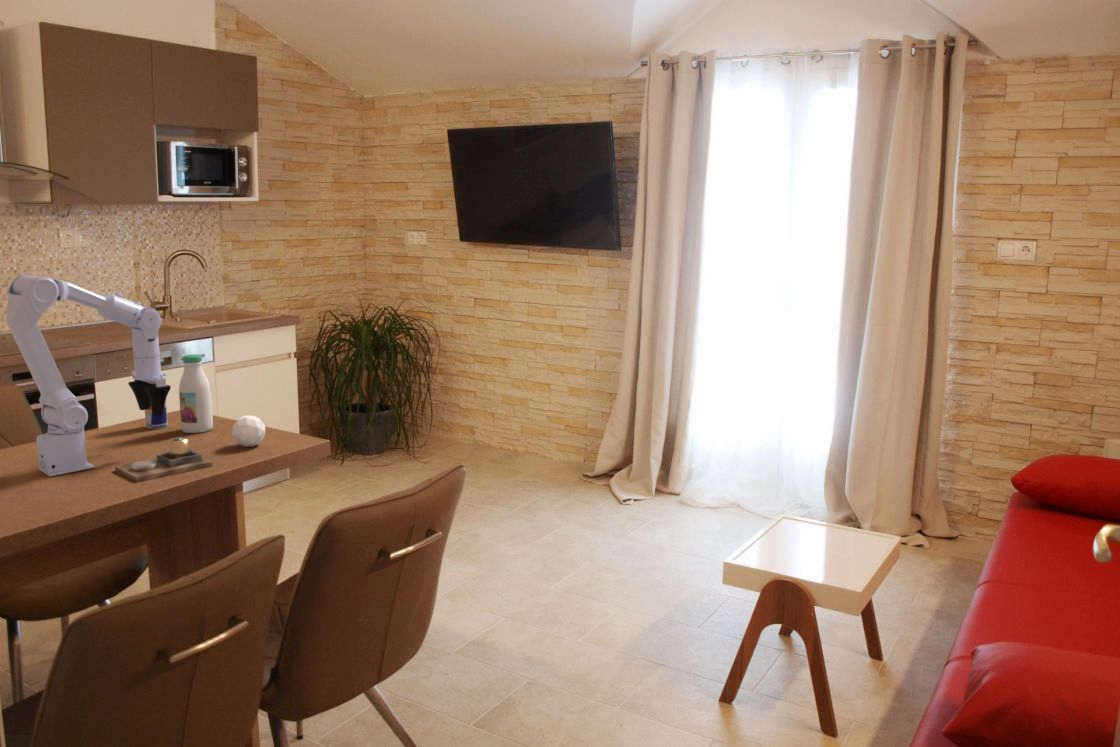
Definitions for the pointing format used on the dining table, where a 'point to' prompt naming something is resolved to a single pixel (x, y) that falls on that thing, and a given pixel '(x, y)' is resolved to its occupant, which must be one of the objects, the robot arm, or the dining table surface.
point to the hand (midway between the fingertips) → (151, 412)
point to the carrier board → (162, 466)
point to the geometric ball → (248, 431)
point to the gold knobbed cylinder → (178, 448)
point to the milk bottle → (195, 397)
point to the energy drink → (156, 419)
